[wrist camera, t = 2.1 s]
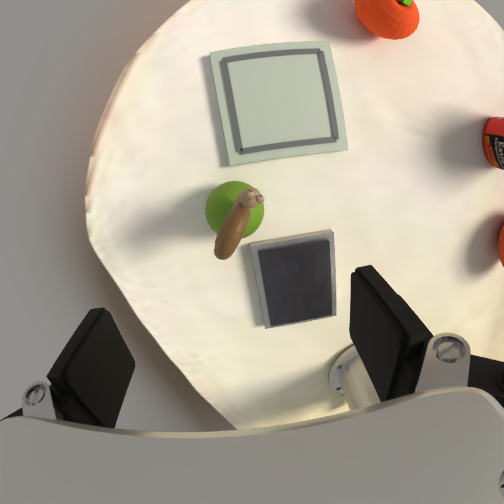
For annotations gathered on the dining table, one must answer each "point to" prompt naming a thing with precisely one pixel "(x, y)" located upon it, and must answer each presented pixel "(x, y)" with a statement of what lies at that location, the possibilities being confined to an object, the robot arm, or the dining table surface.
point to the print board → (278, 100)
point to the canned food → (494, 141)
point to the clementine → (388, 17)
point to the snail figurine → (233, 215)
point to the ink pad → (296, 277)
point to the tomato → (501, 246)
